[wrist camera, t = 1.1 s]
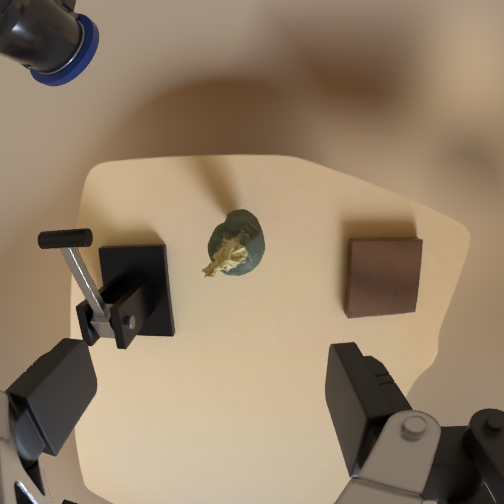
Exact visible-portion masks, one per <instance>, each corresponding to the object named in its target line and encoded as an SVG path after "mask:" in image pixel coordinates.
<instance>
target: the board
mask: <svg viewBox="0 0 504 504" xmlns="http://www.w3.org/2000/svg"><path fill="white" fill-rule="evenodd" d="M422 243H423V240H422V239H419V238H382V239H349V252H348V276H347V294H346V308H345V315H346V316H347V318H361V317H373V316H384V315H394V314H403V313H412V312H415V309H416V302H417V295H418V287H419V278H420V268H421V257H422Z"/></svg>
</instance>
